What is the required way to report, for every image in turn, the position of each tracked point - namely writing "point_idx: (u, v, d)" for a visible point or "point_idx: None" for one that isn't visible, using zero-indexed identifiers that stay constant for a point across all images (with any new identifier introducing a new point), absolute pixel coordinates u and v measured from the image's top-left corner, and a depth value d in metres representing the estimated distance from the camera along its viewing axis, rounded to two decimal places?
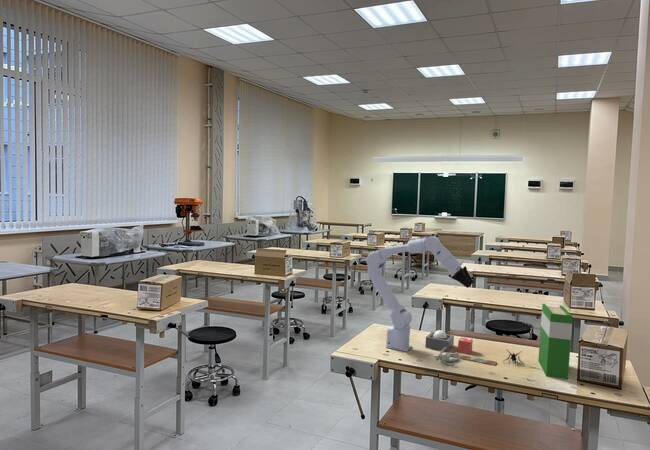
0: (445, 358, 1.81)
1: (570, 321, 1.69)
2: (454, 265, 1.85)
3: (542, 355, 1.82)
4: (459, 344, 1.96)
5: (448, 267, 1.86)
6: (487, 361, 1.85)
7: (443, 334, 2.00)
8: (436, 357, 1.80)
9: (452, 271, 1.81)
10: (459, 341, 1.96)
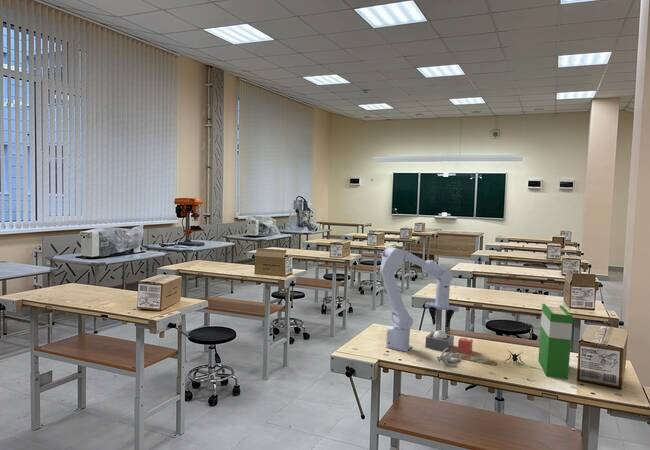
0: (447, 359, 1.80)
1: (570, 321, 1.69)
2: (448, 303, 2.01)
3: (542, 355, 1.82)
4: (459, 344, 1.96)
5: (447, 302, 1.99)
6: (487, 361, 1.85)
7: (443, 334, 2.00)
8: (438, 358, 1.79)
9: (458, 309, 1.98)
10: (459, 341, 1.96)
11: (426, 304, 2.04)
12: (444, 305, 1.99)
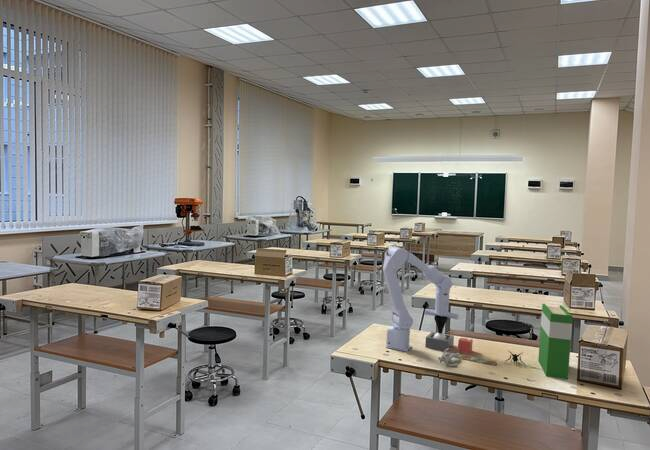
0: (448, 359, 1.80)
1: (570, 321, 1.69)
2: None
3: (542, 355, 1.82)
4: (459, 344, 1.96)
5: (446, 310, 2.00)
6: (487, 361, 1.85)
7: (443, 336, 2.01)
8: (440, 358, 1.78)
9: (458, 316, 1.98)
10: (459, 341, 1.96)
11: (426, 311, 2.04)
12: (444, 312, 1.99)
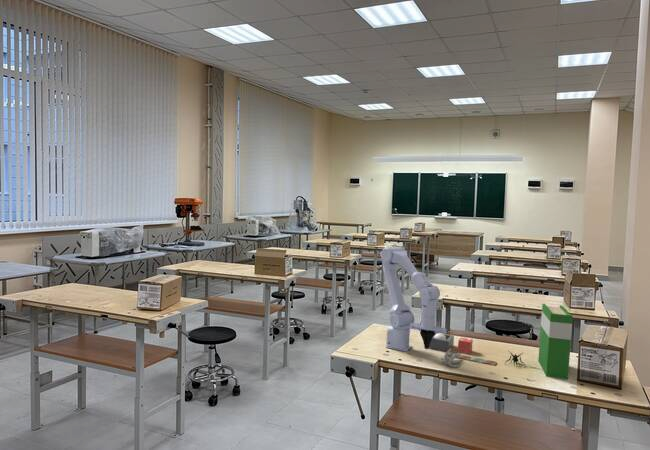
0: (451, 360, 1.79)
1: (570, 321, 1.69)
2: None
3: (542, 355, 1.82)
4: (459, 344, 1.96)
5: (433, 323, 1.84)
6: (487, 361, 1.85)
7: (443, 337, 2.01)
8: (443, 360, 1.77)
9: (445, 331, 1.83)
10: (459, 341, 1.96)
11: (411, 325, 1.89)
12: (430, 327, 1.84)
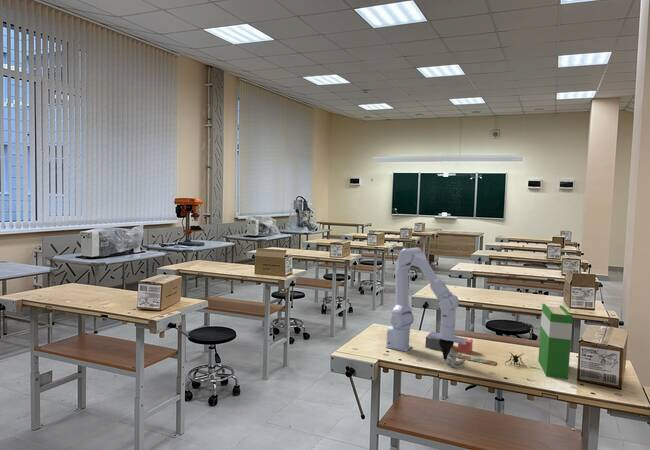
0: (454, 361, 1.78)
1: (570, 321, 1.69)
2: None
3: (542, 355, 1.82)
4: (459, 344, 1.96)
5: (452, 333, 1.81)
6: (487, 361, 1.85)
7: None
8: (446, 361, 1.76)
9: (465, 341, 1.79)
10: None
11: (429, 335, 1.85)
12: (449, 337, 1.80)
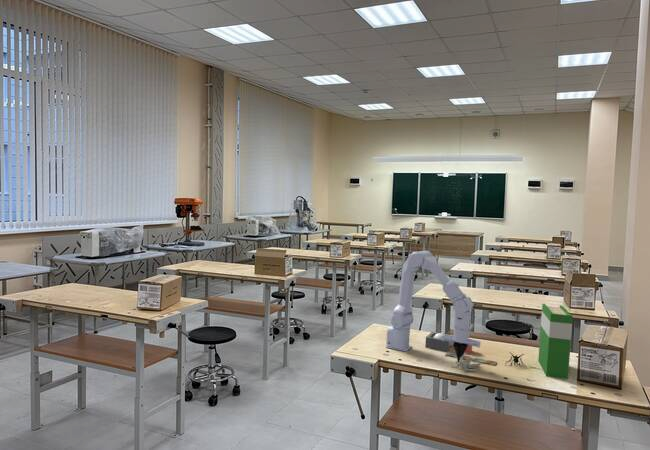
0: (466, 364, 1.75)
1: (570, 321, 1.69)
2: (468, 337, 1.80)
3: (542, 355, 1.82)
4: None
5: (467, 336, 1.78)
6: (487, 361, 1.85)
7: None
8: (457, 363, 1.74)
9: (479, 344, 1.77)
10: None
11: (443, 337, 1.83)
12: (464, 339, 1.78)
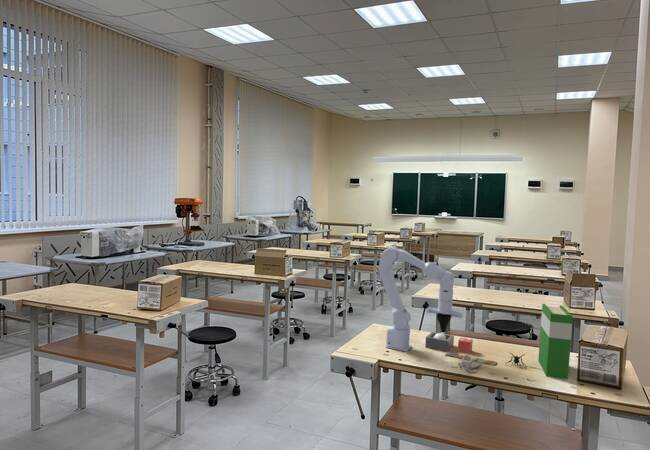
0: (468, 365, 1.75)
1: (570, 321, 1.69)
2: (451, 309, 1.92)
3: (542, 355, 1.82)
4: (459, 344, 1.96)
5: (450, 308, 1.90)
6: (487, 361, 1.85)
7: (443, 337, 2.01)
8: (460, 364, 1.73)
9: (462, 315, 1.88)
10: (459, 341, 1.96)
11: (428, 309, 1.95)
12: (447, 311, 1.89)
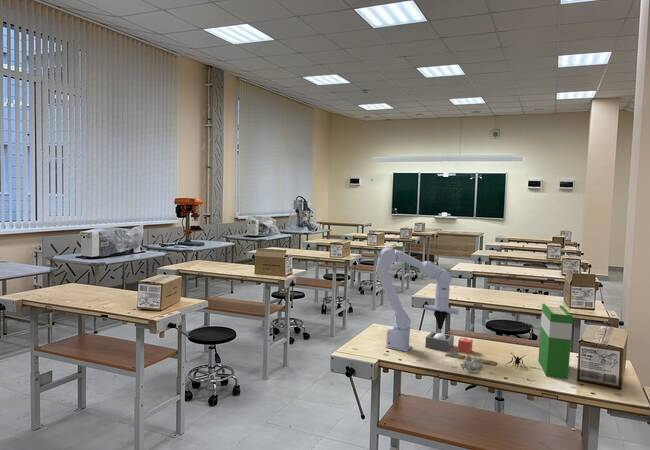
0: (470, 366, 1.74)
1: (570, 321, 1.69)
2: None
3: (542, 355, 1.82)
4: (459, 344, 1.96)
5: (446, 305, 1.94)
6: (487, 361, 1.85)
7: (443, 337, 2.01)
8: (462, 365, 1.72)
9: (458, 311, 1.93)
10: (459, 341, 1.96)
11: (425, 306, 1.99)
12: (444, 308, 1.94)
